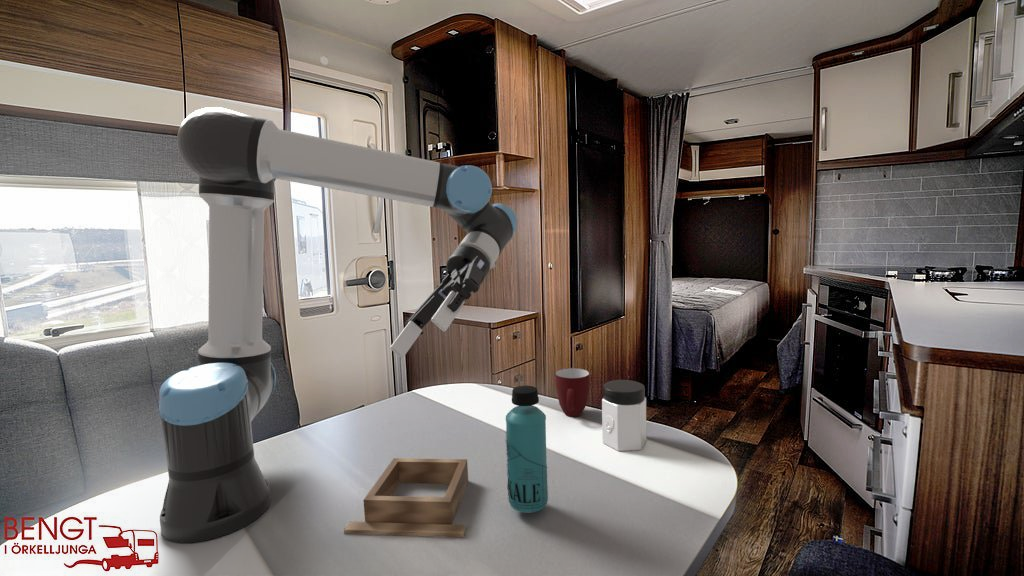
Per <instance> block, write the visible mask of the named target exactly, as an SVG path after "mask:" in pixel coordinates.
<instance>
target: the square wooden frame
mask: <svg viewBox="0 0 1024 576" xmlns="http://www.w3.org/2000/svg"><path fill="white" fill-rule="evenodd" d="M468 470H469V467H468V459H460V458H458V459H457V458H453V459H452V458H404V457H403V458H401V457H400V458H398V457H397V458H393V459H392V460H391V461H390V463H389V464H388V465H387V467H386V468H385V469H384V471H383V472H382V473H381V475H380V476H379V477H378V479H377V480H376V482H375V483H374V485H372V487H371V489H370V490H369V491H368V493H367V494H366V496H365V497H364V499H363V512H364V521H349V522H348V523H347V525H346V526H345V528H344V529H343V533H344V534H346V535H347V534H350V535H354V534H355V535H379V536H380V535H381V536H382V535H383V536H384V535H385V536H410V537H412V536H414V537H444V538H464V536H465V533H466V530H467V525H466V524H453V523H454V521H455V518H456V516H457V512H458V510H459V507H460V505H461V502H462V499H463V496H464V494H465V491H466V488H467V486H468V482H469V471H468ZM399 484H426V485H427V484H434V485H435V484H437V485H448V486H447V487H448V488H447V490H446V492H445V495H444V497H443V496H442V497H439V496H399V495H398V496H397V495H394V496H393V494H394V492H395V491H394V490H396V489H397V488H398V486H399Z"/></svg>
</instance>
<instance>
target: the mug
mask: <svg viewBox="0 0 1024 576" xmlns="http://www.w3.org/2000/svg"><path fill="white" fill-rule="evenodd" d="M554 377H555V378H554V382H555V390H556V395H557V399H558V404H559V406H560V408H561V410H562V412H563V414H564V415H565V416H567V417H571V418H576V417H579V416H581V415H582V414H583V413H584V410H585V408H586V406H587V404H588V398H589V391H590V385H591V382H590V381H591V379H590V372H589V370H586V369H583V368H575V367H574V368H573V367H569V368H562V369H561V368H560V369H558V370H556V371H555V373H554Z"/></svg>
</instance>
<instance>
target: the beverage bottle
mask: <svg viewBox="0 0 1024 576" xmlns="http://www.w3.org/2000/svg"><path fill="white" fill-rule="evenodd" d="M538 391H539V390H538V388H537V387H535V386H532V385H519V386H515V387H514V388H513V389H512V391H511V392H512V393H511V404H513V405H515V407H512V409H510V410H509V411H508V412H507V413H506V415H505V426H506V427H505V428H506V429H505V430H506V431H505V439H506V440H505V444H506V445H505V447H506V448H505V449H506V452H505V453H506V467H507V469H506V472H507V487H506V488H507V500H508V503H509V504H510V505H509V506H510V507H511V508H512V509H513V510H514V511H517V512H520V513H527V514H528V513H530V514H531V513H535V512H539V511H541V510H543V509H545V507H546V506H547V504H548V501H549V486H548V475H549V474H548V469H549V468H548V465H547V429H546V428H547V427H546V421H547V415H546V414H545V412H544V411H543V410H541V409H540V408H539V407H538V406H535V405H538V404H539V401H540V398H539V392H538Z"/></svg>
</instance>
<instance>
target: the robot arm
mask: <svg viewBox="0 0 1024 576" xmlns="http://www.w3.org/2000/svg"><path fill="white" fill-rule="evenodd" d="M176 136H177V137H176V142H177V144H176V145H177V149H178V152H179V155H180V156H181V158H182V160H183V162H184V163H185V165H186V166H187V167H188V168H189V169H190V171H192V172H193V173H195V174H196V176H198V196H199V197H200V198H201V199H202V200H203V201H204V202H205V203H206V204H207V205H208V207H209V209H208V213H209V214H208V327H207V329H208V332H207V333H208V334H207V337H208V340H207V342H206V343H204V344H203V345H202V346H200V348H199V349H198V350H197V355H198V356H197V359H198V360H197V365H195V366H192V367H189V368H188V369H185V370H180V371H179V372H177V373H175V374H173V375H171V376H170V377H168V378H167V379H165V380H164V382H163V383H162V384H161V386H160V388H159V394H158V395H159V403H158V412H159V416H160V421H161V428H162V429H161V430H162V435H163V442H164V450H165V457H166V465H167V471H168V483H167V487H166V491H165V493H164V494H165V495H164V499H163V504H162V508H161V511H160V515H159V523H160V525H159V526H160V532H161V535H162V537H163V538H164V539H166V540H168V541H170V542H175V543H188V544H189V543H197V542H203V541H204V542H205V541H209V540H212V539H216V538H220V537H222V536H226V535H228V534H231V533H234V532H235V531H238V530H240V529H242V528H244V527H246V526H248V525H250V524H251V523H253V522H254V521H256V520H257V519H258V518H259V517H261V516H262V515H263V514H264V513H265V512H266V511H267V510H268V508H269V506H270V505H271V500H272V499H271V498H272V497H271V490H270V489H271V488H270V485H269V483H268V481H267V480H266V479H265V477H264V475H263V473H262V470H261V468H260V466H259V464H258V462H257V460H256V457H255V450H254V440H253V438H254V437H253V431H252V421H253V420H254V419H255V417H256V416H257V415H258V413H260V411H261V410H262V409H263V408H264V407H265V405H266V404H268V402H269V401H270V399H271V398H272V396H273V393H274V391H275V388H276V381H277V375H276V370H275V367H274V365H273V363H272V362H271V361H272V355H271V354H272V347H271V345H270V344H269V343H267V342H266V340H264V339H263V318H264V317H263V314H264V313H263V309H264V308H263V307H264V304H263V303H264V302H263V301H264V257H265V255H264V251H265V250H264V248H265V246H264V245H265V242H264V241H265V211H266V209H268V208H269V207H270V206H271V205H272V204H273V203H275V202H274V200H275V198H274V197H275V182H276V180H279V181H280V180H281V181H285V182H292V183H297V184H302V185H309V186H313V187H314V186H315V187H319V188H325V189H330V190H335V191H337V190H338V191H342V192H348V193H354V194H358V195H359V194H360V195H365V196H370V197H376V198H382V199H387V200H393V201H398V202H404V203H410V204H414V205H418V206H419V205H420V206H424V207H425V206H426V207H429V208H430V207H432V208H435V209H439V210H443V211H444V212H445V213H446V214H447V215H448V216H449V217H450V218H451V219H452V220H453V221H454V222H455V223H456V224H457V225H459V226H460V228H461V229H462V230H464V232H466V235H465V237H463V239H462V240H461V242H460V243H459V244H458V245H457V247H456V249H455V250H454V251H453V252H452V254H450V256H449V257H448V259H447V260H446V261H447V262H446V271H447V273H448V274H447V275H446V276H445V277H444V278H443V279H442V280H441V282H440V284H438V285H437V286H436V287H435V288H434V290H433V291H432V292H431V294H430V295H429V296H428V297H427V298H426V300H424V301H423V303H422V304H421V305H420V306H419V307H418V308H417V310H416V311H414V313H413V314H412V315H411V316H410V317H409V318H408V320H406V321H405V322H404V324H405V327H404V328H403V329H402V331H401V332H400V333H399V335H398V336H397V337H396V338H395V340H394V341H393V342H392V344H391V345H390V346H389V349H390V350H391V351H392V352H393V353H395V355H396V356H398V358H400V359H403V358H404V357H405V356H406V355H407V353H408V352H409V350H410V349H411V348H412V347H413V344H415V341H416V340H417V339H418V338H419V336H421V335H423V334H424V331H423V328H424V327H425V326H426V325H427V324H428V323H429V322H430V321H431V322H432V323H433V324H434V325H435V326H437V328H439V329H440V330H441V331H442V332H443V333H444V332H446V331H447V330H448V329H449V327H450V326H451V324H452V323H453V321H454V320H455V318H456V317H457V315H458V313H459V312H460V310H461V309H462V307H463V306H464V304H465V303H466V300H469V299H470V298H471V296H472V293H474V294H475V293H477V292H478V291H479V289H480V286H481V284H482V283H484V280H485V279H486V278H487V276H488V275H489V272H490V271H491V270H492V269H495V268H496V264H495V263H496V261H497V259H498V258H499V257H500V256H501V254H502V252H503V251H504V250H505V248H506V246H507V245H508V244H509V242H511V240H512V239H513V236H514V234H515V233H516V230H517V228H518V224H519V223H518V217H517V215H516V213H515V211H514V210H513V209H512V208H511V207H509V206H507V205H504V204H503V203H491V202H489V201H490V199H491V198H492V194H493V185H492V181H491V178H490V176H489V174H488V173H486V172H485V170H484V169H482V168H480V167H478V166H475V165H461V166H458V165H453V164H448V163H442V162H440V161H439V162H438V161H434V160H429V159H423V158H421V157H415V156H410V155H406V154H405V155H404V154H400V153H396V152H391V151H385V150H382V149H378V148H377V149H376V148H372V147H368V146H367V147H366V146H362V145H359V144H358V145H357V144H353V143H349V142H344V141H343V142H342V141H338V140H334V139H329V138H323V137H320V136H315V135H309V134H304V133H299V132H296V131H292V130H291V131H290V130H286V129H285V130H284V129H281V128H278V126H277V125H276V124H275V122H274V121H273V120H271V119H268V118H267V119H266V118H262V117H257V116H254V115H248V114H246V113H242V112H238V111H234V110H232V109H227V108H224V107H217V106H215V107H213V106H212V107H204V108H201V109H197V110H195V111H194V112H192V113H190V114H188V116H186V118H185V119H184V120H183V121H182V122H181V124H180V126H179V128H178V131H177V135H176Z"/></svg>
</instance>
